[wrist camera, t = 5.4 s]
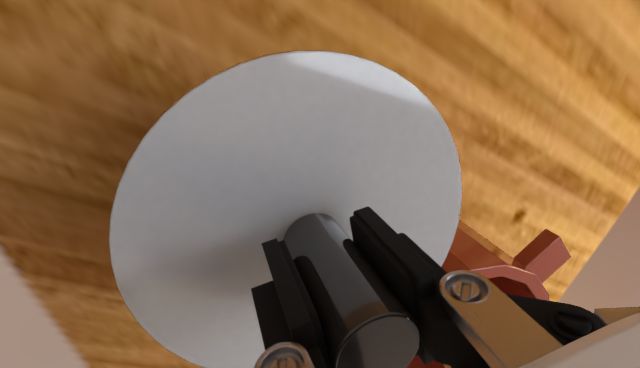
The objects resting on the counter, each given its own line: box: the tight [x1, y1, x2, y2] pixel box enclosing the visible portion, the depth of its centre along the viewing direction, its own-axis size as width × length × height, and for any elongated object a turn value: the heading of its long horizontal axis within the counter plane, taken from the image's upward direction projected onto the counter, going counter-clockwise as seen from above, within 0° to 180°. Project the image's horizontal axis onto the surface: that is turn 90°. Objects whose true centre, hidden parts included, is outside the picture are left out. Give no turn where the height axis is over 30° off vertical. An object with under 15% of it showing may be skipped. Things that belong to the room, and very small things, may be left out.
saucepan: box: [406, 220, 571, 368], centre depth 24 cm, size 13×18×7 cm
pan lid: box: [109, 50, 462, 368], centre depth 12 cm, size 14×14×7 cm
